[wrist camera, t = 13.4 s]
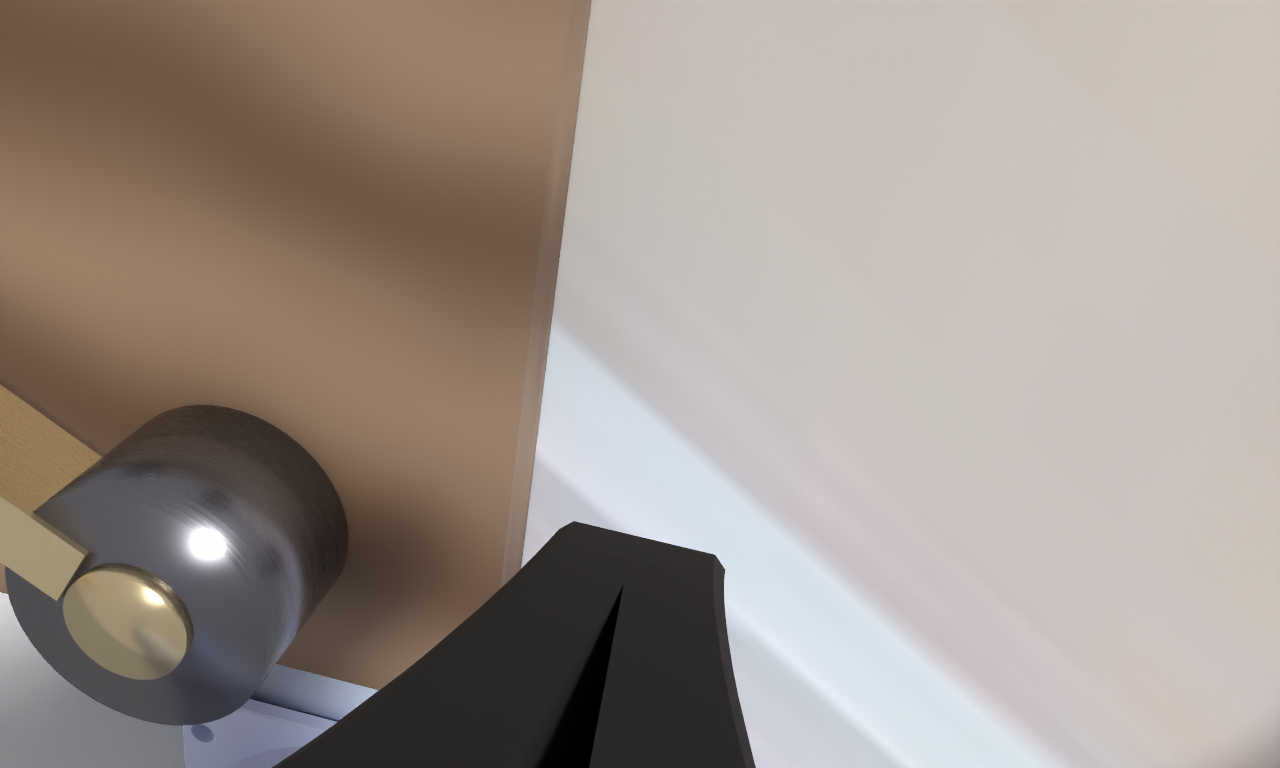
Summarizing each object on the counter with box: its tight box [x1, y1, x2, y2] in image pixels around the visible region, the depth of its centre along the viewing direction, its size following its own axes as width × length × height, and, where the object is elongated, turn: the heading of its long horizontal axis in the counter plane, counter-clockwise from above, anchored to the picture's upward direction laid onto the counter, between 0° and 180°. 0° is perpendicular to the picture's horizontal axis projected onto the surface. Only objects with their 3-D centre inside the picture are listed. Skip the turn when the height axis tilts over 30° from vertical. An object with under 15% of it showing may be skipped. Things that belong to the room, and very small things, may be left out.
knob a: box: [0, 384, 349, 725], centre depth 18 cm, size 11×4×3 cm, turn 53°
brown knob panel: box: [0, 0, 591, 690], centre depth 17 cm, size 21×17×4 cm
